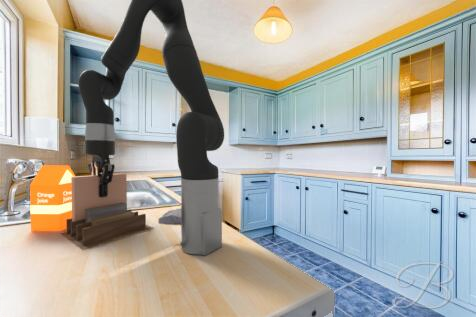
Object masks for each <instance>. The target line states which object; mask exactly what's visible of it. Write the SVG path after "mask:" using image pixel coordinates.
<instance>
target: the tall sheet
mask: <svg viewBox="0 0 476 317" xmlns="http://www.w3.org/2000/svg"><path fill="white" fill-rule="evenodd" d="M75 176H76V175H75ZM127 184H128V183H127V173H123V172H122V173H113V176H112V181H111V182H109V184H108V196H106V197H99V184H98V177H97V176H96V175H91V176H90V175H80V176H79V175H78V176H76V177H71V188H72V222H73V221H77V220H82V219H85V209H89V208H94V207H100V206H105V205H111V204H117V203H126V204H127V203H128V202H127V201H128V198H127V193H128V192H127V190H128V189H127V188H128V186H127ZM127 205H128V204H127Z"/></svg>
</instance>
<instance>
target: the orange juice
mask: <svg viewBox="0 0 476 317" xmlns="http://www.w3.org/2000/svg"><path fill="white" fill-rule="evenodd" d="M71 177H76V175H75V174H74V172H73V170H72V169H71V167H70V165H68V164H67V165H42V166H41V167H40V168H39V170H38V171H37V173H36V175H35V176H34V178H33V180H32V181H31V183H30V184H29V196H30V197H29V199H30V200H29V201H30V206H29V207H30V208H29V209H30V210H29V211H30V212H29V215H30V232H60V231H64V230H67V227H66V219H71V218H72V188H71Z"/></svg>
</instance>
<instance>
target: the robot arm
mask: <svg viewBox="0 0 476 317" xmlns="http://www.w3.org/2000/svg"><path fill="white" fill-rule="evenodd" d="M150 11H151V13H152V14H154V15H155V17H156V18H157V19H158V20H159V23H160V25H161V26H162V28H163V31H164V36H165V40H164V41H163V45H162V47H161V48H162V49H161V55H162V60H163V63H164V67H165V71H166V74H167V75H168V78H169V80H170V82H171V83H172V84H173V86H174V88H176V91H177V92H178V93H179V94H180V96H181V97H182V98H183V99H184V100H185V102H186V103H187V105H188V106H189V109H190V111H188V112H185V113H183V114H182V115H181V116H180V118H179V119H178V123H177V126H176V131H175V132H176V138H175V139H176V149H177V150H176V154H177V166H178V169H179V171H180V198H181V199H180V202H181V203H180V205H181V206H180V209H181V224H180V225H181V226H180V227H181V228H180V232H181V250H182V252H183V253H186V254H190V255H202V256H207V255H208V254H210V253H212V252H214V251H216V250H217V249H219V248H222V246H223V233H222V232H223V221H222V220H223V215H222V214H223V209H222V208H220V205H219V202H220V201H219V196H220V193H219V188H220V187H219V186H220V185H219V183H220V182H219V180H220V178H219V176H220V175H219V167H218V166H217V165H215V164H214V163H212V162H211V160H210V159H209V157H208V152H213V151H217V150H218V149H220V148H221V146H222V145H223V144H224V141H225V140H224V139H225V128H224V123H223V122H222V120H221V117H220V115H219V113H218V110H217V108H216V106H215V104H214V102H213V99H212V97H211V94H210V91H209V87H208V85H207V82H206V78H205V77H204V76H205V75H204V73H203V70H202V65H201V63H200V62H201V61H200V59H199V56H198V53H197V50H196V48H195V44H194V41H193V38H192V36H191V34H190V31H189V28H188V25H187V19H186V18H187V17H186V14H185V8H184V4H183V1H182V0H131V1H130V3H129V5H128V7H127V10H126V12H125V15H124V17H123V21H122V22H121V25H120V27H119V29H118V30H117V33H116V34H115V36H114V38H113V39H112V41H111V42H110V43H109V45H108V46H107V48H106V50H105V52H103V53H102V56H101V57H100V61H101V64H102V65H103V66H104V67H105V68H106V73H105V74H103V73H100V72H98V71H96V70H93V69H85V70H84V71H82V72H81V73H80V75H79V78H78V90H79V93H80V96H81V100H82V104H83V105H84V108H85V130H84V137H85V138H84V140H85V142H84V145H85V150H84V151H85V155H86V156H91V157H92V159H91V162H90V163H88V164H87V165H88V170H89V176H91V175H96V176H97V177H98V184H99V197H106V196H108V184H109V182H111V181H112V176H113V174H114V171H115V167H116V166H115V164H114V163H113V164H112V163H111V159H110V156H115V154H116V139H115V138H116V136H115V135H116V134H115V133H116V132H115V126H114V124H115V123H114V120H115V119H114V110H113V108H112V107H111V106H109V105H108V104H106V103H105V101H111V100H114V99H115V98H116V97H117V96H118V95H119V93H120V92H121V89H122V87H123V84H124V80H125V77H126V74H127V72H128V71H129V69H130V68H131V66H132V65H133V64H134V62H135V61H136V59H137V57H138V55H139V52H140V49H141V41H142V40H141V39H142V33H143V32H142V29H143V27H144V22H145V19H146V18H147V15H148V14H149V13H150Z"/></svg>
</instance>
